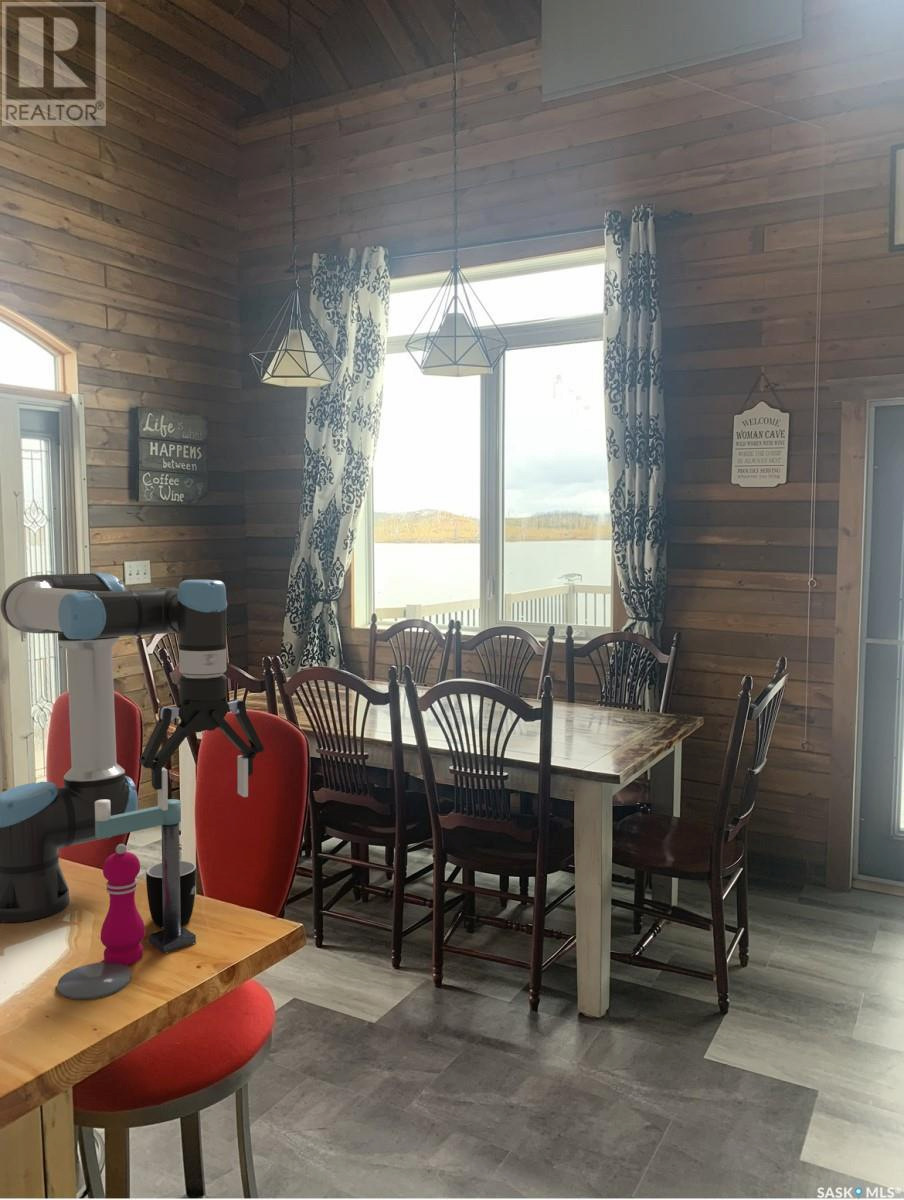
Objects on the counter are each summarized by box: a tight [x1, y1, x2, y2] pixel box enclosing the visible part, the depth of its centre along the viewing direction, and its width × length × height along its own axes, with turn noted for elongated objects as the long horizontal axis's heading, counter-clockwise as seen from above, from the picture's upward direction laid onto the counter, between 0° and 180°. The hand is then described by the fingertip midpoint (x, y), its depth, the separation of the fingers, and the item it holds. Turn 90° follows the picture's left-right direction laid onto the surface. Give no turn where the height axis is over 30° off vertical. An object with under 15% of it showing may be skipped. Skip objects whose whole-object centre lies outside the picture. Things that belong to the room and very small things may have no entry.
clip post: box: [147, 822, 197, 955], centre depth 162 cm, size 6×6×22 cm
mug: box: [145, 860, 197, 928], centre depth 173 cm, size 12×9×10 cm
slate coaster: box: [57, 962, 132, 1001], centre depth 148 cm, size 11×11×1 cm
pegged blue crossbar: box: [95, 798, 182, 840], centre depth 157 cm, size 15×4×6 cm, turn 134°
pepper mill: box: [99, 843, 146, 967], centre depth 156 cm, size 7×7×20 cm
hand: (203, 801), depth 151 cm, fingers open, 13 cm apart
